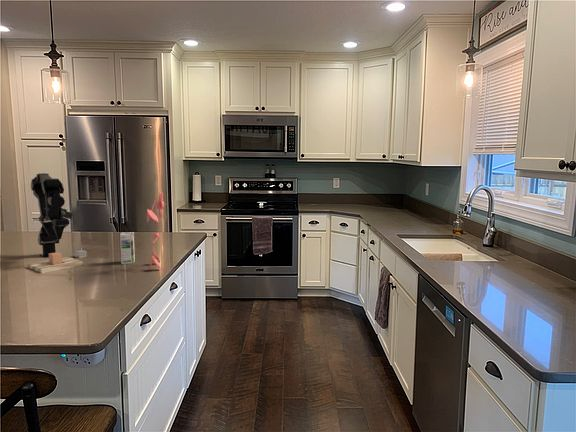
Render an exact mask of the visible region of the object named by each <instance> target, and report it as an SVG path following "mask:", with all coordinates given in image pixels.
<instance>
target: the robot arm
mask: <svg viewBox="0 0 576 432" xmlns="http://www.w3.org/2000/svg"><path fill="white" fill-rule="evenodd" d="M30 189H31V191H32V194H33V196H35V198H37V202H38V208H39V217H38V221H39V222H40V224H41V227H40V229H39V233H38V236H37V237H38V238H37V243H38V245H39V246H42V254H39V256H41V257H43V258H49V254H50V253H56V244H60V240H61V239H62V237H63V233H64V230H65V228H66V227H68V226H69V225H70V220H72V219H73V216H74V212H70V211H68V210H67V209H65V208H63V206H64V205H65V203H66V202H65V201H66V200H65V198H64V197H63V196H62V194H64V191H65V189H64V185H63V183H62V182H61V180H60V179H59V178H52V177H51V176H50V174H49V173H45V172H43V173H36V176H35V177H34V178H33V179H31V181H30Z"/></svg>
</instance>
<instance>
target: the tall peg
mask: <svg viewBox="0 0 576 432" xmlns="http://www.w3.org/2000/svg"><path fill="white" fill-rule="evenodd" d="M62 258H63V253H62V252H58V251H57V252H56V253H50V254H49V257H48V261H49V264H50V265H57V264H62Z"/></svg>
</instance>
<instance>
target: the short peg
mask: <svg viewBox="0 0 576 432" xmlns="http://www.w3.org/2000/svg"><path fill="white" fill-rule="evenodd" d="M87 256H88V254H87V251H86V250H83V249H80V250H74V258H77V259H80V258H86V257H87Z"/></svg>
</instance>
